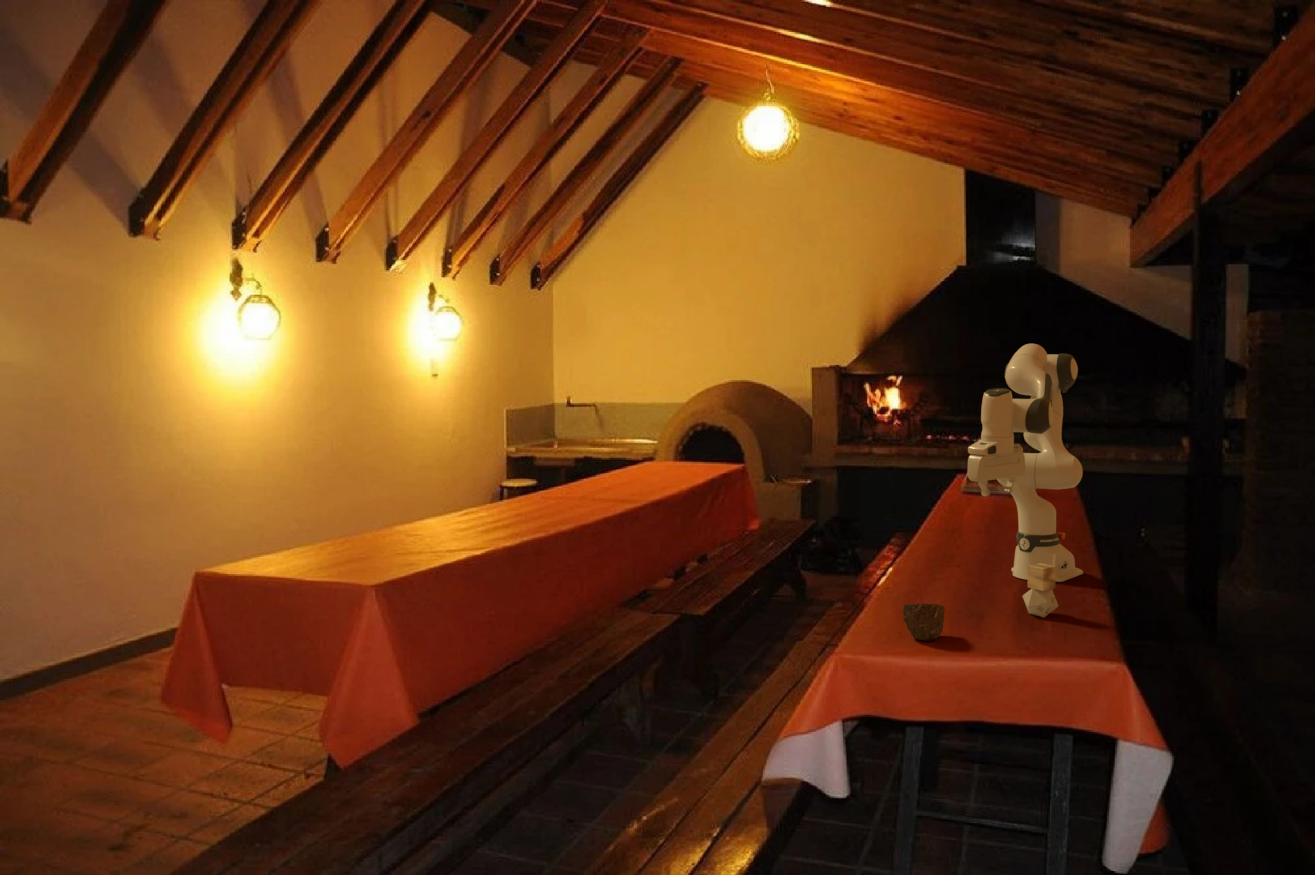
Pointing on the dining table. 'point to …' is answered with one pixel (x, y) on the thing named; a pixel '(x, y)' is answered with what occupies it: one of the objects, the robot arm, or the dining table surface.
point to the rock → (924, 620)
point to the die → (1040, 602)
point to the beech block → (1041, 577)
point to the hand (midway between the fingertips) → (997, 494)
